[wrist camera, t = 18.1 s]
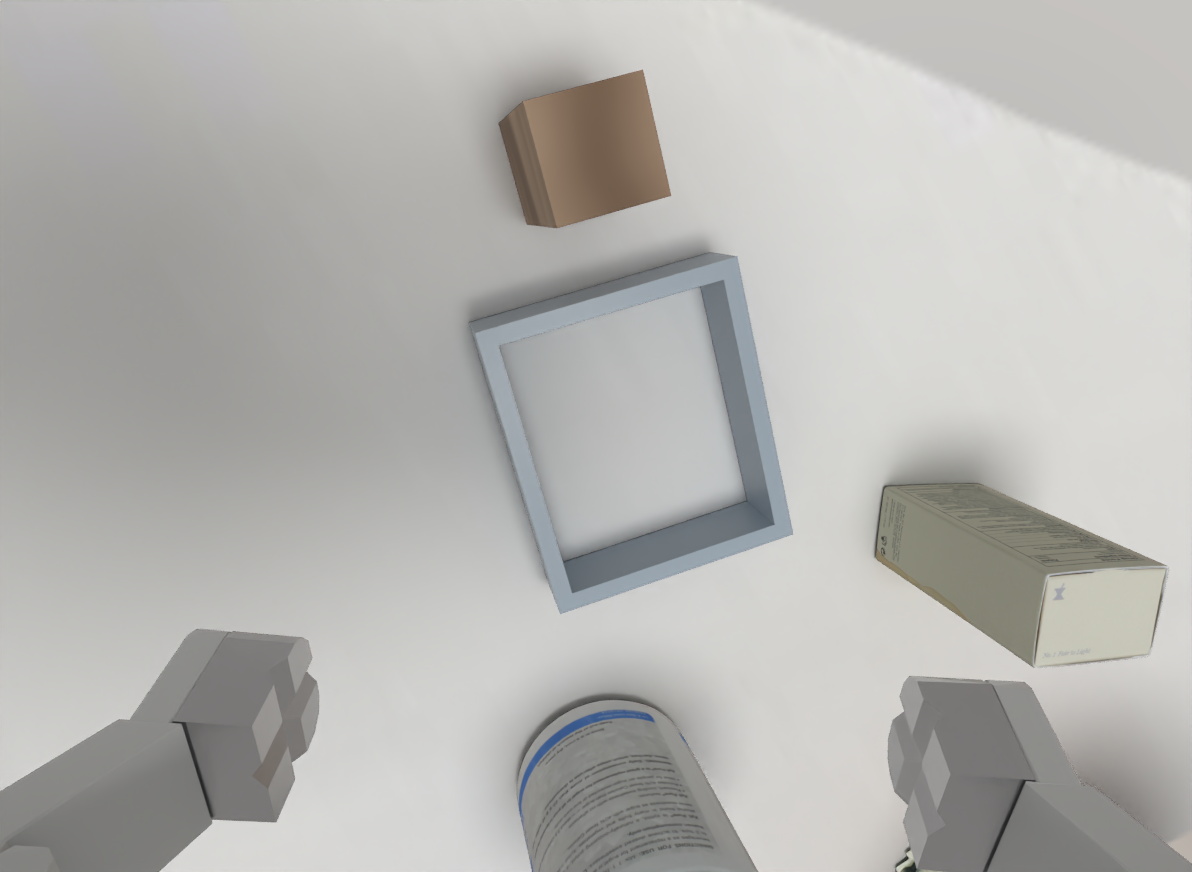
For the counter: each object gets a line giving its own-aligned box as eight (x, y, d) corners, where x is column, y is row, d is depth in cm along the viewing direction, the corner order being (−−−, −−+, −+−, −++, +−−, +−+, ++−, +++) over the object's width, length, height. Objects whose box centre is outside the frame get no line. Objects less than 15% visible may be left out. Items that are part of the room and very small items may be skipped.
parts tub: (548, 582, 43) (560, 614, 40) (468, 322, 39) (474, 332, 35) (764, 509, 44) (793, 534, 41) (709, 252, 40) (737, 256, 37)
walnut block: (526, 224, 38) (557, 228, 31) (498, 123, 37) (523, 101, 29) (619, 198, 39) (671, 195, 31) (594, 97, 37) (642, 69, 30)
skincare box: (872, 559, 47) (1025, 673, 35) (882, 481, 45) (1043, 573, 34) (974, 554, 48) (1153, 662, 36) (986, 478, 47) (1174, 565, 35)
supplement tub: (480, 806, 45) (514, 1071, 31) (578, 662, 44) (657, 869, 30) (626, 868, 48) (716, 1134, 34) (720, 734, 47) (851, 952, 34)
